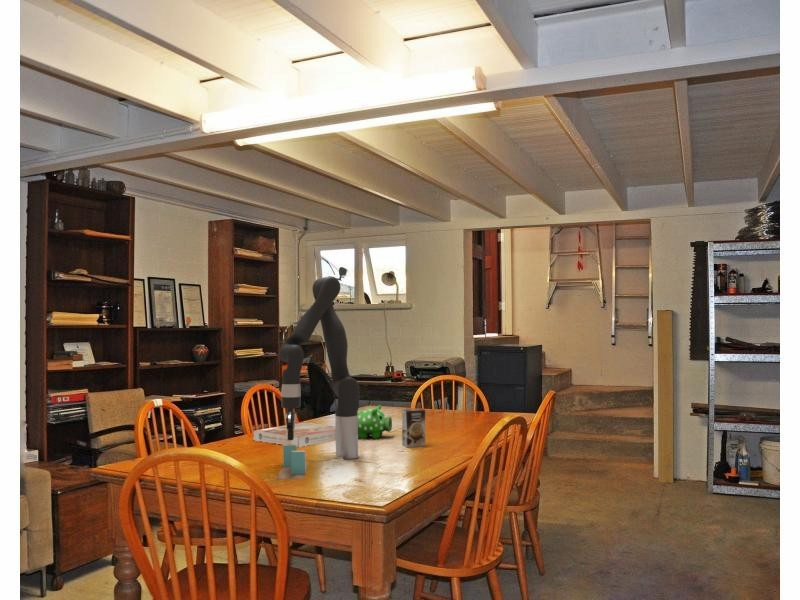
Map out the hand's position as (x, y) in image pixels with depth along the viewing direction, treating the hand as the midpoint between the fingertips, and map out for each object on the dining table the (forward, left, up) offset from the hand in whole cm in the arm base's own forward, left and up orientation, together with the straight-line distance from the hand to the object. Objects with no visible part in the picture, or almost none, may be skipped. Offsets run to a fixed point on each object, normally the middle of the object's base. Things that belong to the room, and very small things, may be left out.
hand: (290, 439), depth 265 cm
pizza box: (0, -61, -11) cm, 62 cm away
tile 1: (0, +7, -9) cm, 11 cm away
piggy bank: (-34, -60, -10) cm, 70 cm away
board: (-2, +14, -10) cm, 17 cm away
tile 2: (-4, +20, -9) cm, 22 cm away
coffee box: (-52, -35, -10) cm, 64 cm away
